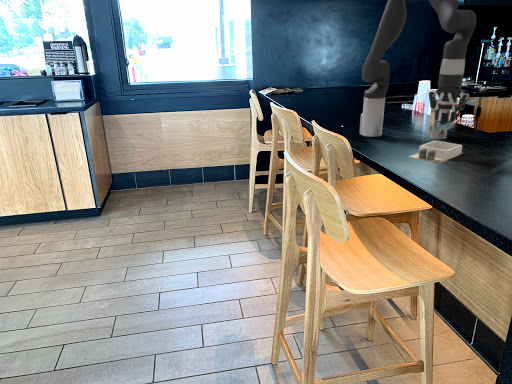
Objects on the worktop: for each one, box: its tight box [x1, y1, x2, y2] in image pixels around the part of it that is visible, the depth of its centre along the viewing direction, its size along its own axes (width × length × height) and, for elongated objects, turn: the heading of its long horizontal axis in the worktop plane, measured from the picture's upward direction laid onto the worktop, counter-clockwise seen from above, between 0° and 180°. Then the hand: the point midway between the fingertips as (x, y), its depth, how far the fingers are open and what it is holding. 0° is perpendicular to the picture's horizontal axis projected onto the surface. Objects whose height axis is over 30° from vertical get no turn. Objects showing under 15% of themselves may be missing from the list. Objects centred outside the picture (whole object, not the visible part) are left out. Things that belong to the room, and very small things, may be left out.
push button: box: [435, 101, 455, 130], centre depth 140 cm, size 7×5×10 cm
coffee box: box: [427, 98, 448, 140], centre depth 172 cm, size 9×6×16 cm
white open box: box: [418, 140, 463, 159], centre depth 145 cm, size 11×12×3 cm
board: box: [408, 149, 464, 164], centre depth 143 cm, size 12×18×4 cm, turn 130°
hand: (444, 121), depth 141 cm, fingers closed on push button, 4 cm apart
